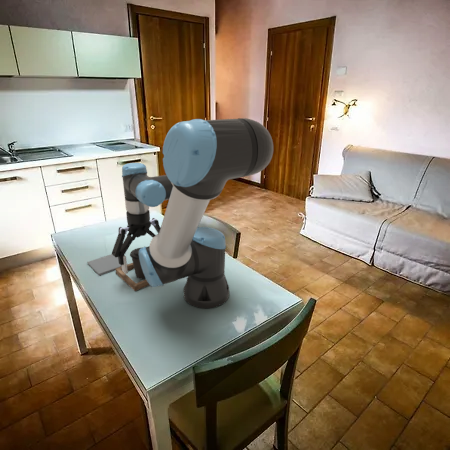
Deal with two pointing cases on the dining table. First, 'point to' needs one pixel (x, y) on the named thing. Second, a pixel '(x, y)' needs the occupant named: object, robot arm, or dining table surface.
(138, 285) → the wooden square frame
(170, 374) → the dining table surface
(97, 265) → the pad
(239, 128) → the robot arm
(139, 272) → the coffee cup
